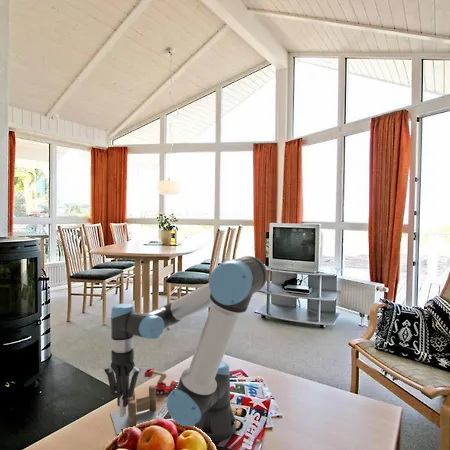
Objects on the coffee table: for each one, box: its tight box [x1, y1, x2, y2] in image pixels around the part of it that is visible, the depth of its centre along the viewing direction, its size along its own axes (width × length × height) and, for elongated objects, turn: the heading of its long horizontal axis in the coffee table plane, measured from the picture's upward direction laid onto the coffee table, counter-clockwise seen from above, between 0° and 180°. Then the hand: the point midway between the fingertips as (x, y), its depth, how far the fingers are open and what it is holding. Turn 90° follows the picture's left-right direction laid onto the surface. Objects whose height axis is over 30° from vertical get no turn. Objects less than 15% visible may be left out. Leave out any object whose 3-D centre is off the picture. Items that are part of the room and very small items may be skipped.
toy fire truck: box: [144, 368, 178, 395], centre depth 149 cm, size 3×14×10 cm, turn 84°
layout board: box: [110, 408, 158, 436], centre depth 130 cm, size 15×16×1 cm
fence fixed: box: [127, 384, 157, 416], centre depth 133 cm, size 3×11×9 cm, turn 116°
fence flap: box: [127, 390, 137, 427], centre depth 127 cm, size 3×11×9 cm, turn 18°
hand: (122, 415), depth 123 cm, fingers closed
